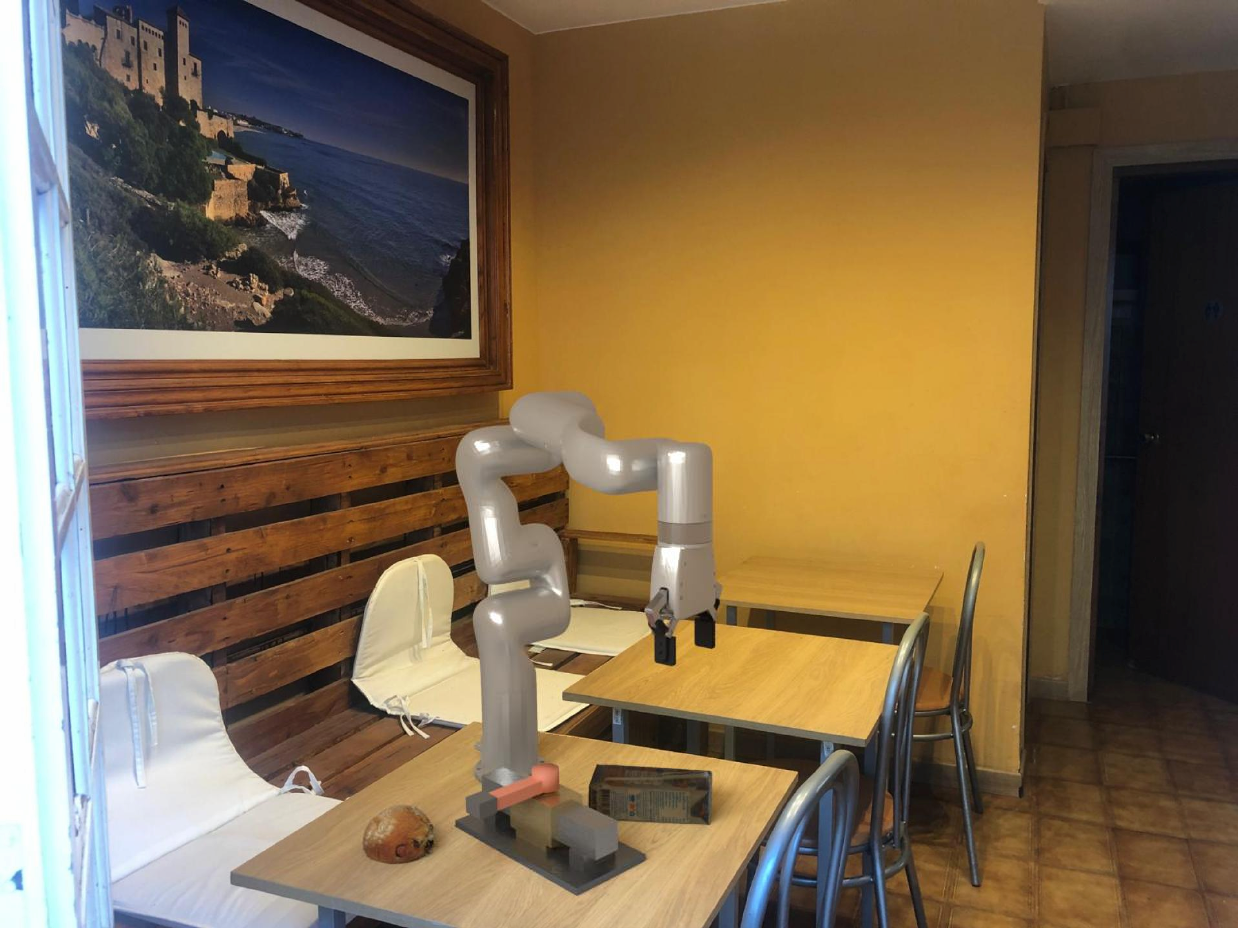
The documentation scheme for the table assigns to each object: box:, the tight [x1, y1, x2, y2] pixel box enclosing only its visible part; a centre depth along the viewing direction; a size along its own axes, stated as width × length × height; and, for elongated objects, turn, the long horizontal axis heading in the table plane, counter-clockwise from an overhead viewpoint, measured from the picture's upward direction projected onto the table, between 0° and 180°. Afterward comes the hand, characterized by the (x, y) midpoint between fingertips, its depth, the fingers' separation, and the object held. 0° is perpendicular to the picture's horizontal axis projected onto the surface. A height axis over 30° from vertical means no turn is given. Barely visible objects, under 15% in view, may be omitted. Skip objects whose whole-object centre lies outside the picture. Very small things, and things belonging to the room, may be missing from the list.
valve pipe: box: [454, 768, 646, 896], centre depth 145 cm, size 28×13×8 cm, turn 44°
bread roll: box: [362, 804, 437, 865], centre depth 145 cm, size 10×10×8 cm
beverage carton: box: [587, 763, 713, 826], centre depth 155 cm, size 8×19×7 cm, turn 83°
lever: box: [465, 762, 560, 820], centre depth 141 cm, size 15×4×3 cm, turn 134°
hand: (685, 655), depth 136 cm, fingers open, 9 cm apart
